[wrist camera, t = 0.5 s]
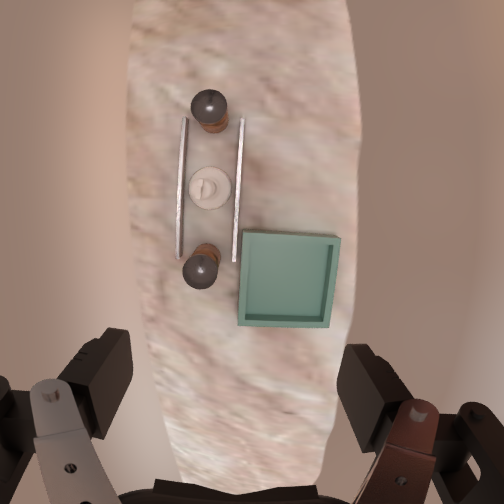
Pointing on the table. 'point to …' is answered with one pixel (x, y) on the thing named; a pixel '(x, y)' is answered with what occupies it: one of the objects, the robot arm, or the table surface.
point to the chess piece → (210, 188)
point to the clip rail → (206, 255)
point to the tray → (287, 279)
